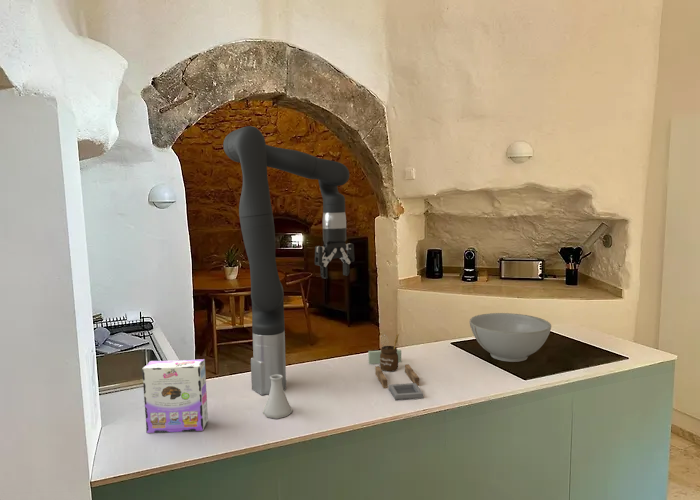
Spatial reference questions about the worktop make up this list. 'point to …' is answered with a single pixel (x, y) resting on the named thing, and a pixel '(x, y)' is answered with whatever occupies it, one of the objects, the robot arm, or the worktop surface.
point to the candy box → (175, 396)
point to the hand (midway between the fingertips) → (335, 276)
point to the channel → (408, 371)
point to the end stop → (375, 356)
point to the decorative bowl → (510, 334)
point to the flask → (277, 400)
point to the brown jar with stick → (389, 357)
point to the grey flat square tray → (405, 391)
